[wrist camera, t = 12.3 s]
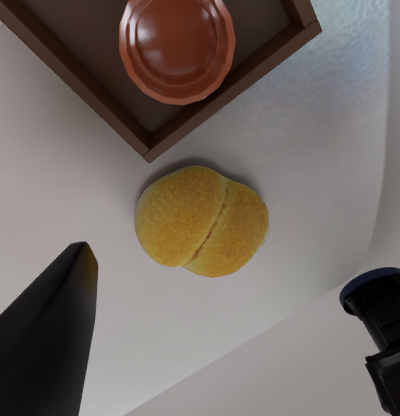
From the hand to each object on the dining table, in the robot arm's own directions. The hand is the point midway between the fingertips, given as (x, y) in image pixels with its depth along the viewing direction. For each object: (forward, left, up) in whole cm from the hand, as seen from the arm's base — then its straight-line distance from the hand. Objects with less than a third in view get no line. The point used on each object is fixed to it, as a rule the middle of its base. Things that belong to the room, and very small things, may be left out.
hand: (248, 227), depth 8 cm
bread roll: (-6, +5, -11) cm, 14 cm away
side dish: (+3, -1, -10) cm, 11 cm away
